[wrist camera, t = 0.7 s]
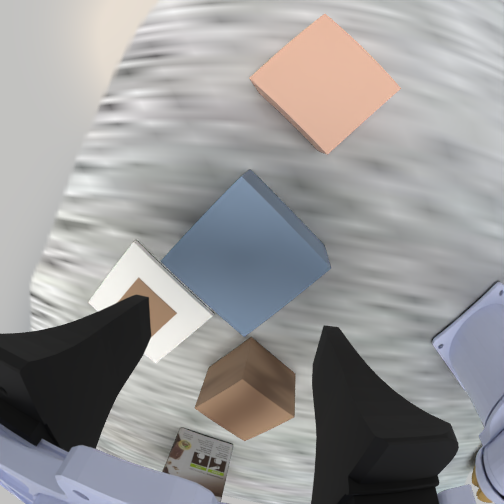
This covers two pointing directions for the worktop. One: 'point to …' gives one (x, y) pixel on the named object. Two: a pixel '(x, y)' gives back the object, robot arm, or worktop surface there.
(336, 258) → the worktop surface
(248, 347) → the walnut block
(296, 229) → the blue block
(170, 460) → the coffee box
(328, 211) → the worktop surface
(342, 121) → the peach block
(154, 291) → the card
